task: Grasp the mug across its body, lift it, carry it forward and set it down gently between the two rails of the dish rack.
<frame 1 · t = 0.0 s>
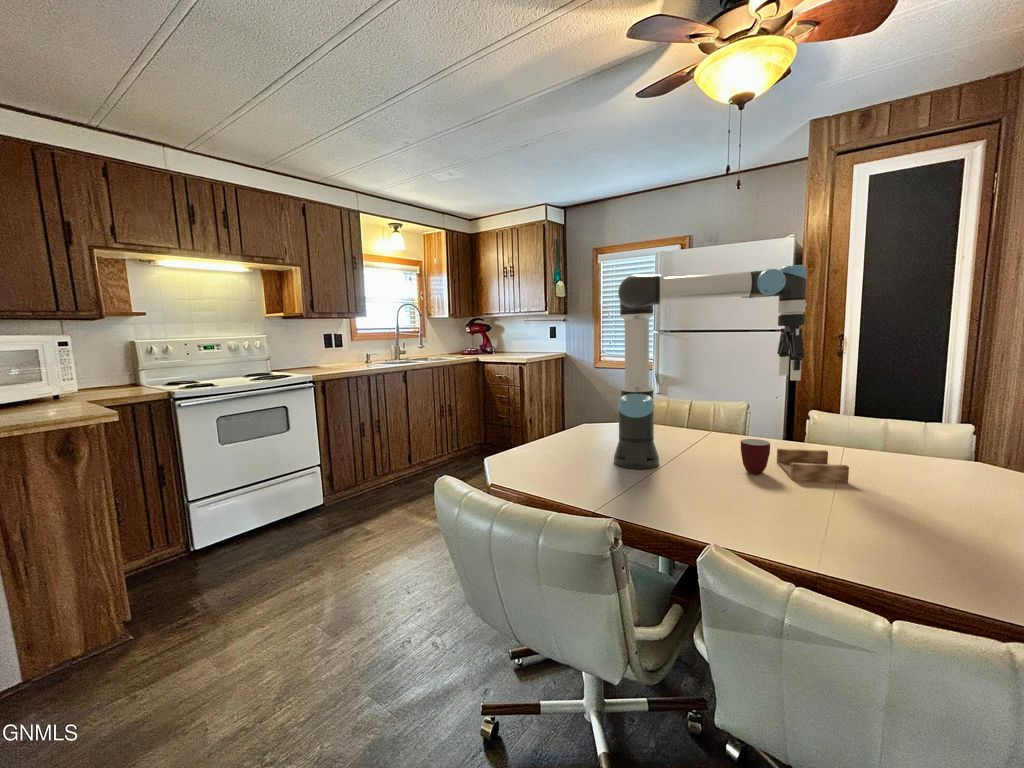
hand: (789, 377, 147), 28 cm above the table, fingers open, 13 cm apart
rack: (809, 472, 136), on the table
mug: (753, 472, 139), on the table
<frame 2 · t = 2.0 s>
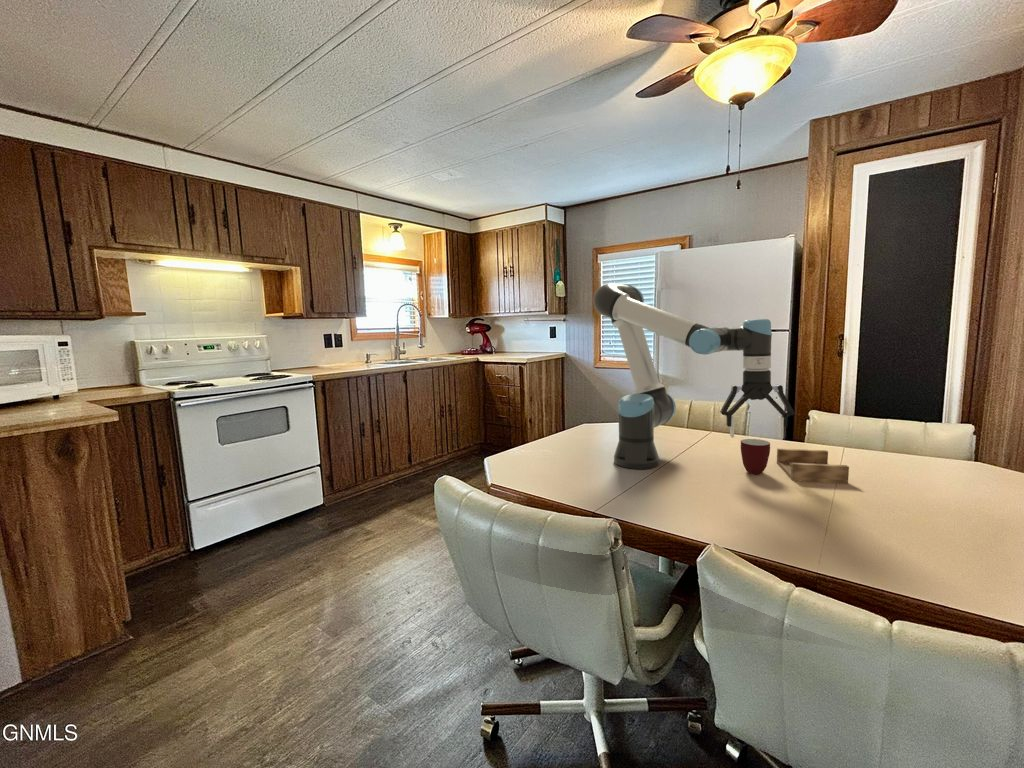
hand: (756, 437, 137), 11 cm above the table, fingers open, 13 cm apart
nothing on the table moved.
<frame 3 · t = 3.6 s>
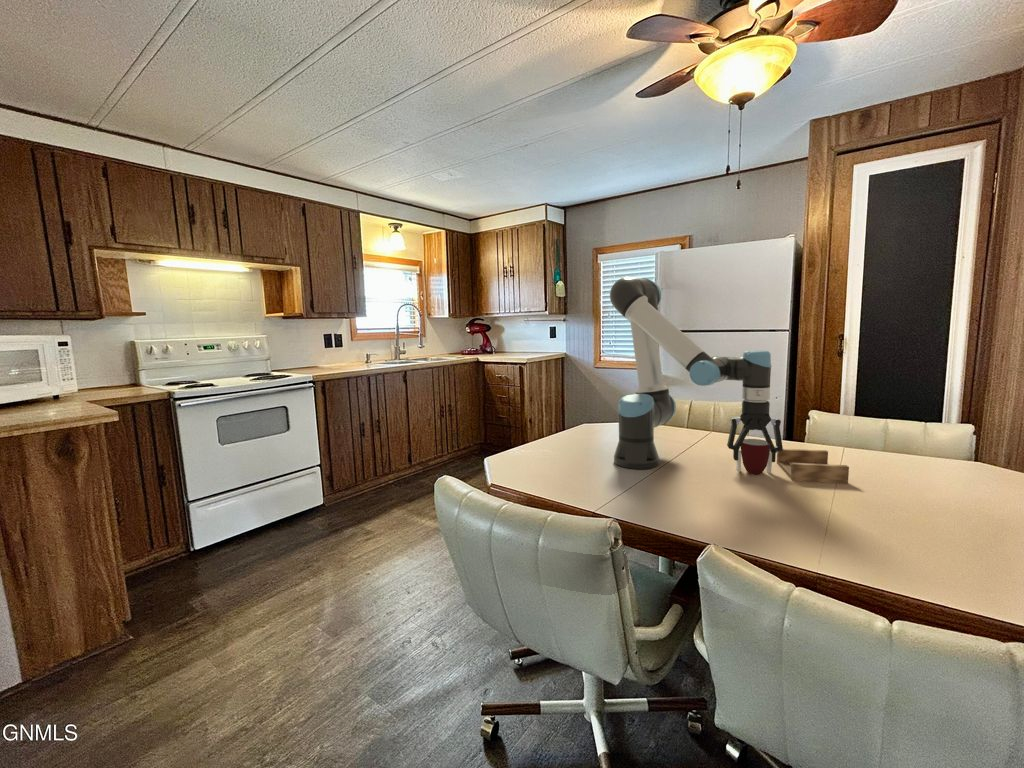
hand: (753, 470, 139), 0 cm above the table, fingers closed on mug, 8 cm apart
mug: (753, 472, 139), on the table, touching gripper
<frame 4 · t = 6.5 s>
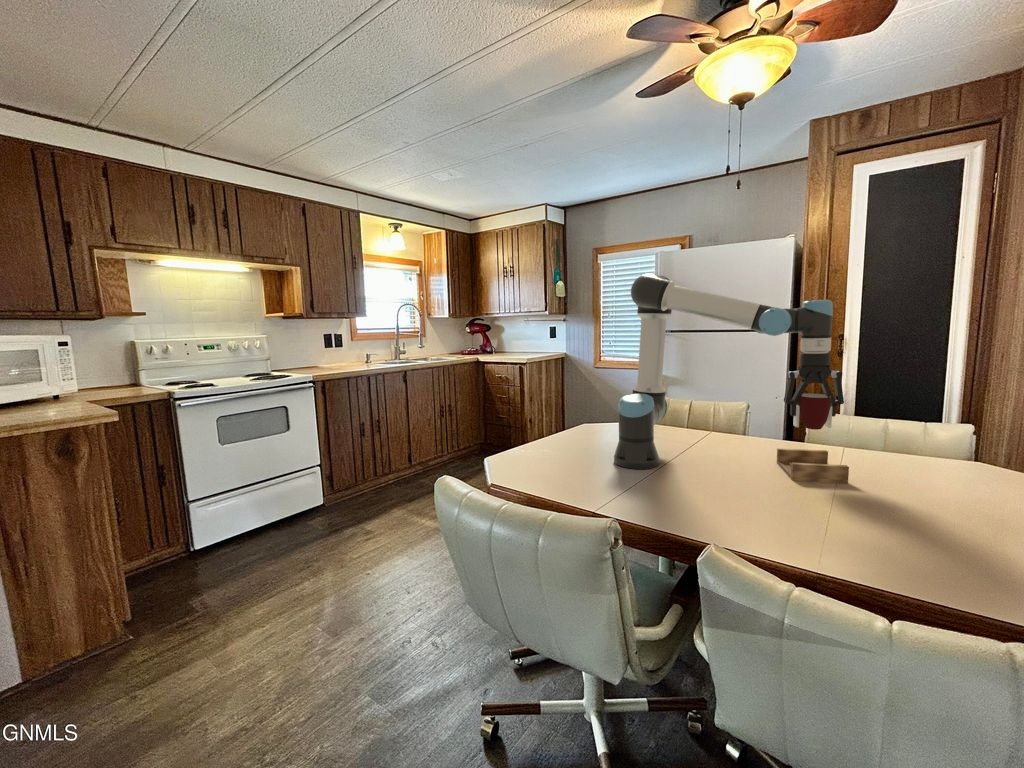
hand: (811, 426, 134), 15 cm above the table, fingers closed on mug, 8 cm apart
mug: (811, 427, 134), point 14 cm above the table, touching gripper
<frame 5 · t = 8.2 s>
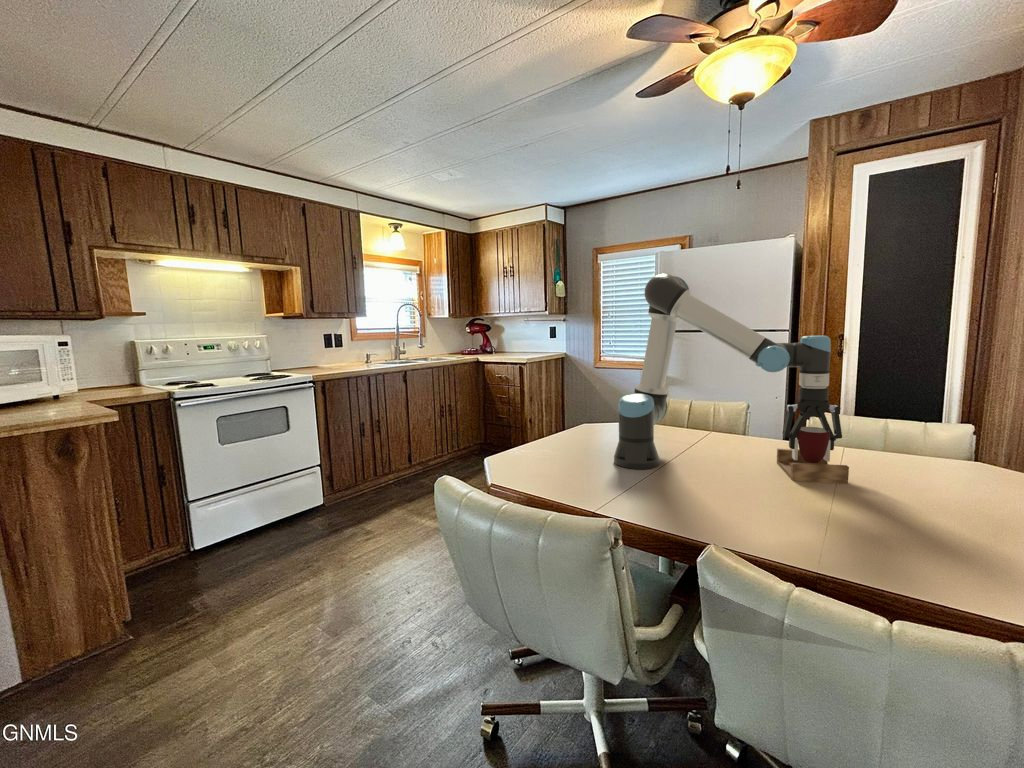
hand: (810, 459, 135), 4 cm above the table, fingers closed on mug, 8 cm apart
mug: (810, 460, 135), point 4 cm above the table, touching gripper
when the fingers open (3 cm above the table, at t = 9.3 s): mug drops 2 cm, resting on rack.
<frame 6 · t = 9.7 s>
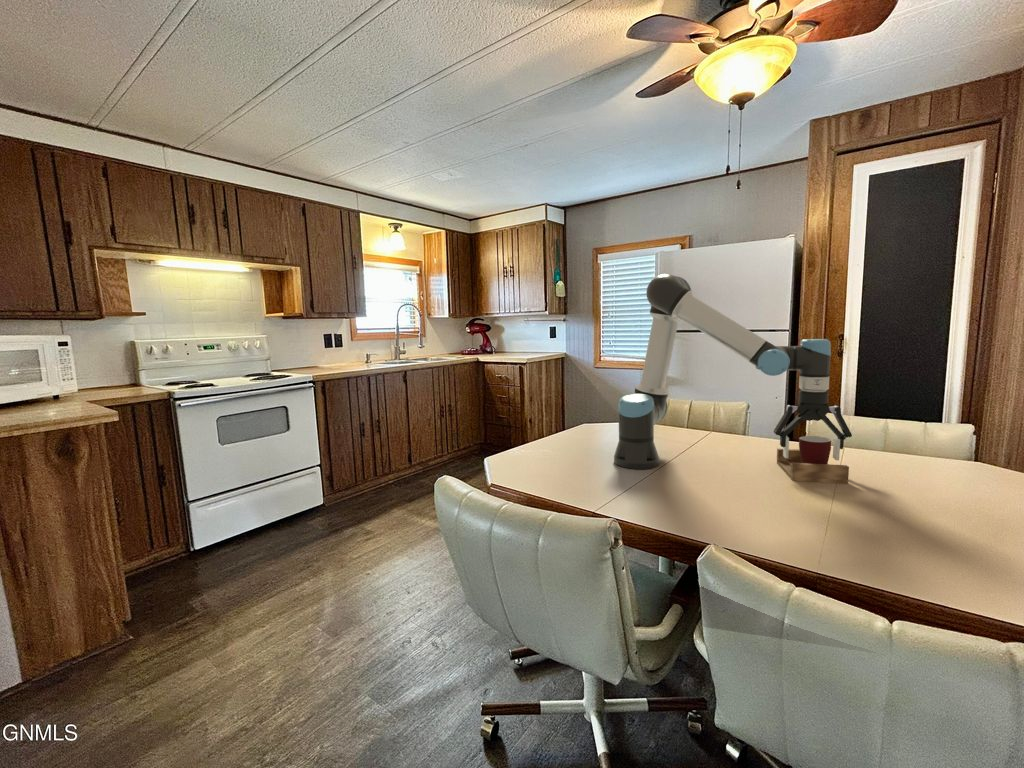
hand: (810, 458, 135), 5 cm above the table, fingers open, 13 cm apart
mug: (813, 470, 135), point 1 cm above the table, touching rack
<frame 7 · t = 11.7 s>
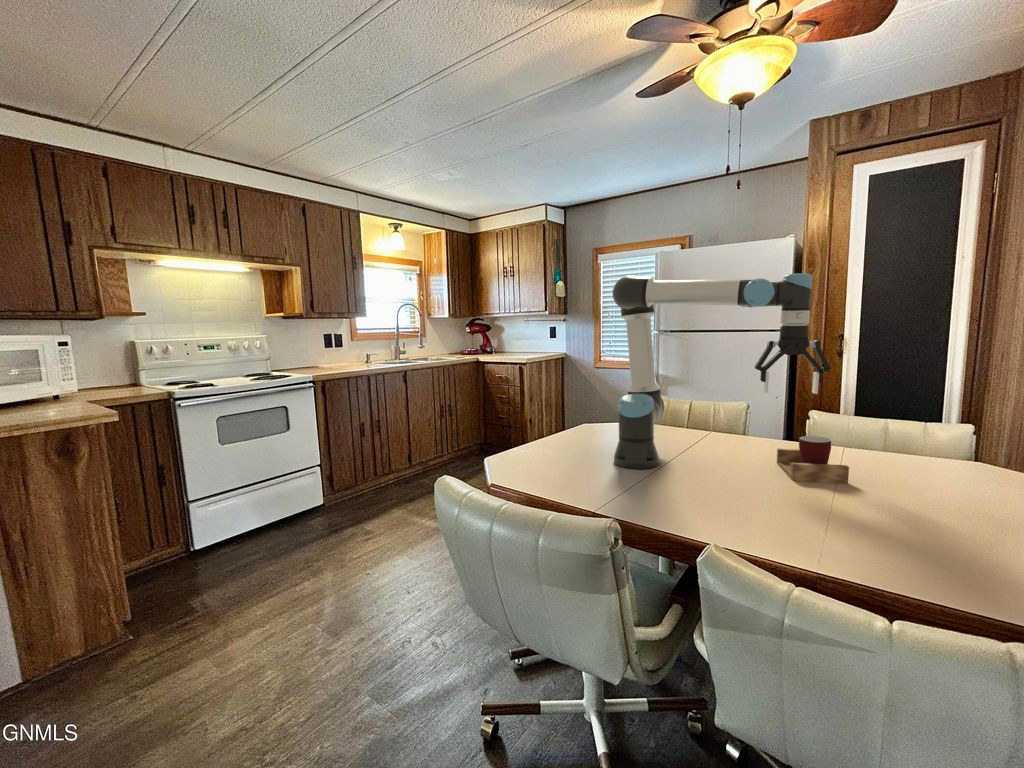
hand: (789, 392, 138), 24 cm above the table, fingers open, 13 cm apart
nothing on the table moved.
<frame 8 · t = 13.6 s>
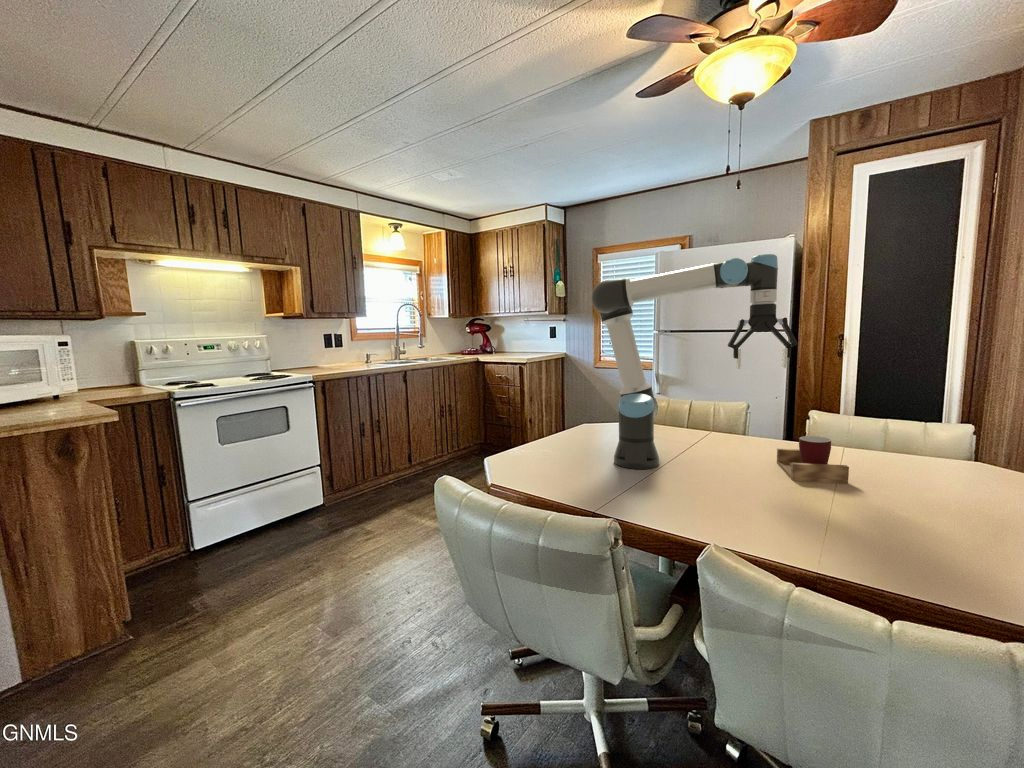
hand: (761, 368, 146), 32 cm above the table, fingers open, 13 cm apart
nothing on the table moved.
at the end: mug inside the target area on the rack (0.8 cm from its centre), point 0.9 cm above the rack's base; mug tilted 2°; the gripper is holding nothing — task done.
